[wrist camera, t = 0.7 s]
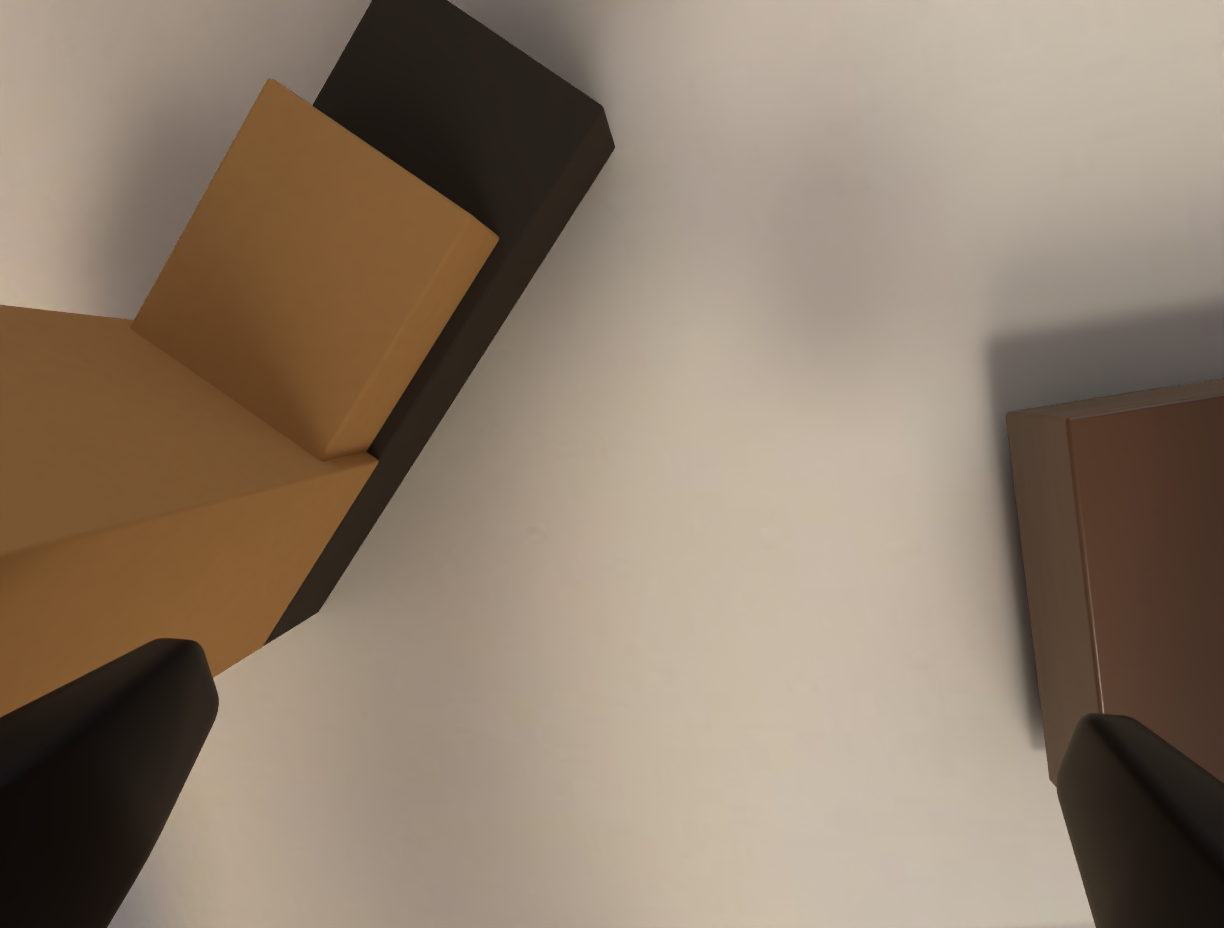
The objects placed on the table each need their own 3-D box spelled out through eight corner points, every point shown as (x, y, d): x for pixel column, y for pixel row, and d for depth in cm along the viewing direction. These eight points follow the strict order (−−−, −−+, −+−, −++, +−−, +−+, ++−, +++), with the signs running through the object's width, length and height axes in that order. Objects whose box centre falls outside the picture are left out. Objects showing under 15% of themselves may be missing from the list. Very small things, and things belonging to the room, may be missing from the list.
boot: (318, 613, 22) (-274, 982, 9) (156, 500, 23) (-683, 683, 9) (616, 146, 20) (463, -373, 6) (435, 23, 20) (-107, -752, 6)
